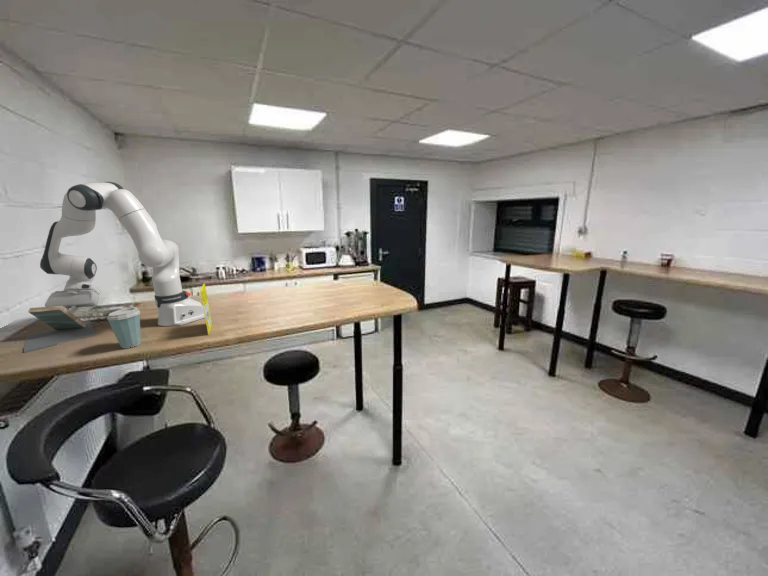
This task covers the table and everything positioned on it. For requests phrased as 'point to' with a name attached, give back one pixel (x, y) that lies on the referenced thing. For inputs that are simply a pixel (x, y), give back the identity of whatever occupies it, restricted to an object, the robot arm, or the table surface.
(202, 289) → the food package
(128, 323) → the disposable coffee cup
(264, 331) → the table surface
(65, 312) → the ash tile
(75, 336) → the charcoal mat
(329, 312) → the table surface
